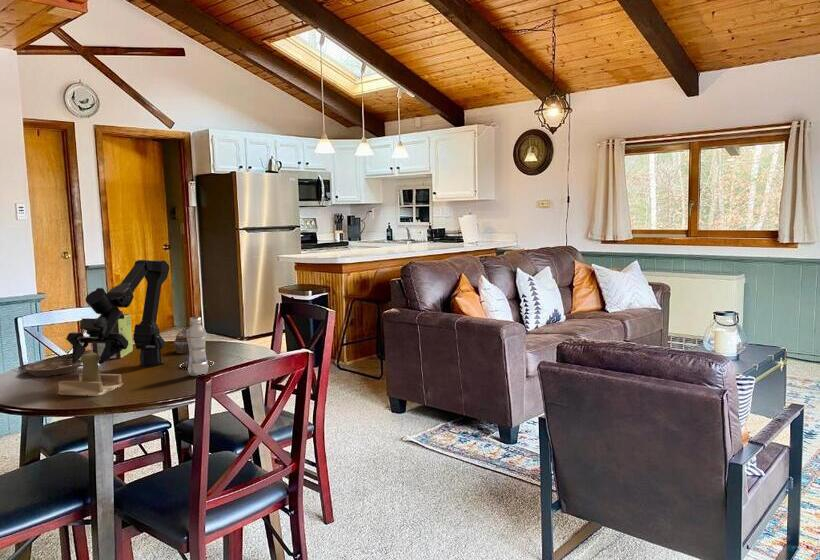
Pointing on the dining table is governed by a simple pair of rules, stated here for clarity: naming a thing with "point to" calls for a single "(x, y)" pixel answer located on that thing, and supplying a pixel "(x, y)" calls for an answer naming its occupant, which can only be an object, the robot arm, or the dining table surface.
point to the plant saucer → (41, 370)
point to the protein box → (125, 329)
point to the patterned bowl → (188, 362)
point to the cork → (90, 367)
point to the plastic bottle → (196, 347)
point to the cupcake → (182, 341)
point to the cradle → (90, 385)
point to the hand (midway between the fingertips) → (86, 363)
